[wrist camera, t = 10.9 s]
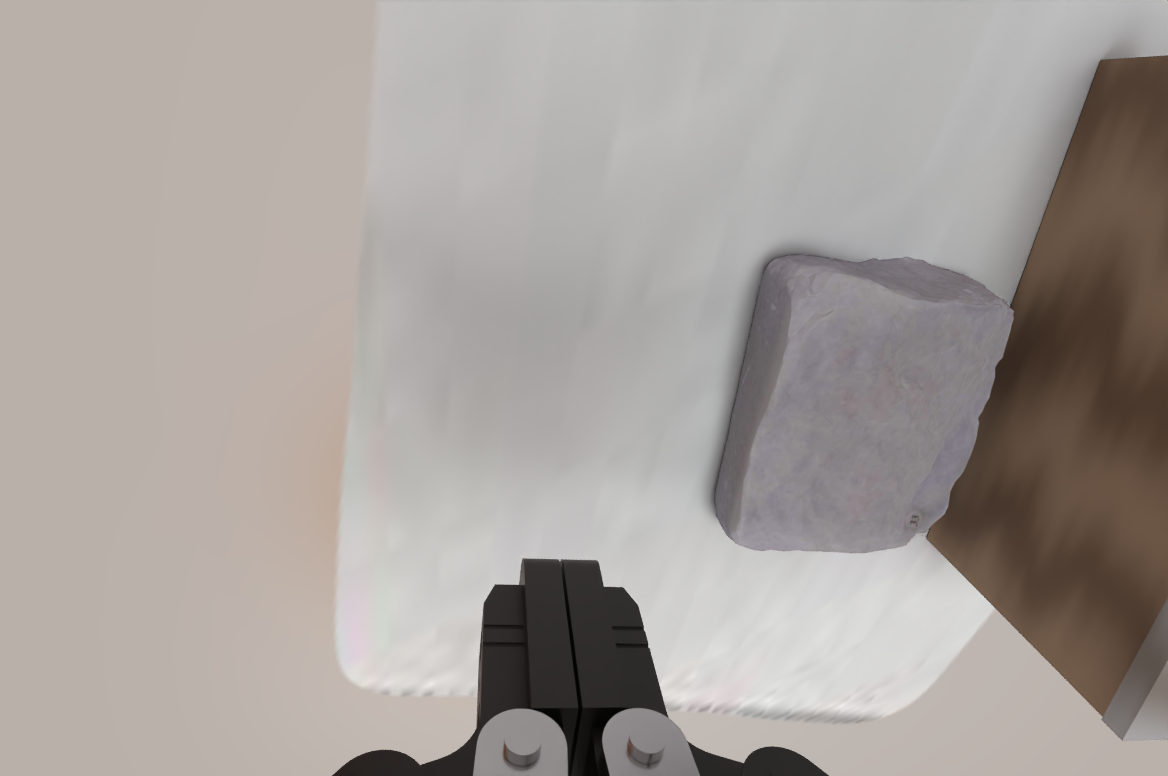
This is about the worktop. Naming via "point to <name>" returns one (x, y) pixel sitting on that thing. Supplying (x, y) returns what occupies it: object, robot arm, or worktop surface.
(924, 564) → the worktop surface
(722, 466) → the stone block
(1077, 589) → the walnut wall board
